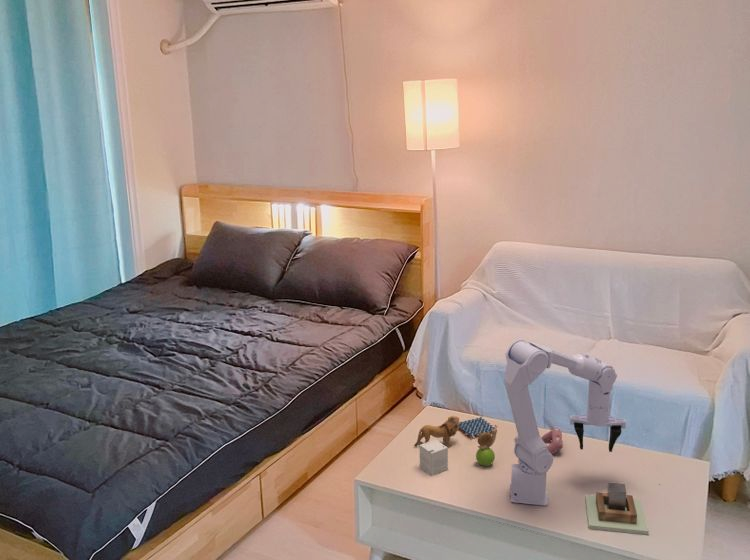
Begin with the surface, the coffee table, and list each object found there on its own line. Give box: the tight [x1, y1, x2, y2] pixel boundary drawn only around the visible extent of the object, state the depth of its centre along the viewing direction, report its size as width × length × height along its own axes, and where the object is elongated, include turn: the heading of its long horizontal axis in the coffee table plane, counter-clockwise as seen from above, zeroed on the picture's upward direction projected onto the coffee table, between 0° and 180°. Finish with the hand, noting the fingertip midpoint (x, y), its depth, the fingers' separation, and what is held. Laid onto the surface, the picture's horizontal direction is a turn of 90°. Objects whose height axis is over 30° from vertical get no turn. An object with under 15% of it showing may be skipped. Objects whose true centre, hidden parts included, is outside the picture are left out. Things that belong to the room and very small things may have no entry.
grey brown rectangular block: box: [606, 482, 627, 511], centre depth 180 cm, size 4×4×7 cm
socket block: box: [584, 491, 649, 536], centre depth 180 cm, size 14×14×4 cm
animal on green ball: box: [475, 424, 498, 467], centre depth 205 cm, size 5×6×12 cm
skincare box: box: [419, 439, 449, 476], centre depth 204 cm, size 6×6×7 cm
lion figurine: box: [413, 415, 461, 448], centre depth 218 cm, size 15×5×9 cm, turn 102°
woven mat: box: [457, 416, 495, 441], centre depth 228 cm, size 10×11×2 cm
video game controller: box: [541, 427, 564, 455], centre depth 214 cm, size 10×5×7 cm, turn 170°
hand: (595, 448), depth 195 cm, fingers open, 7 cm apart
